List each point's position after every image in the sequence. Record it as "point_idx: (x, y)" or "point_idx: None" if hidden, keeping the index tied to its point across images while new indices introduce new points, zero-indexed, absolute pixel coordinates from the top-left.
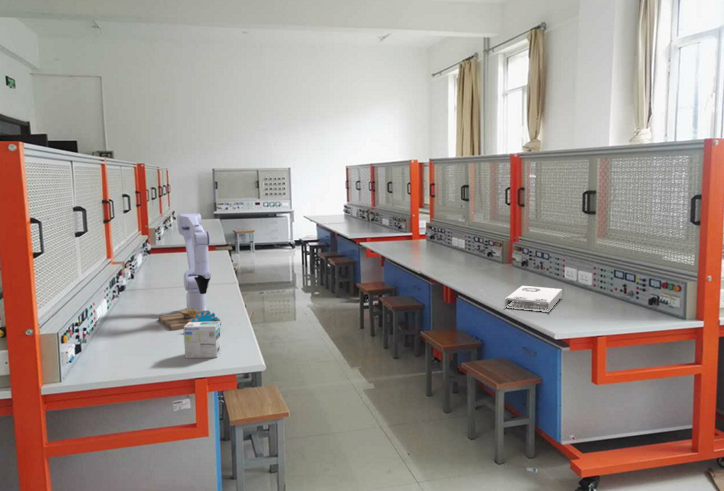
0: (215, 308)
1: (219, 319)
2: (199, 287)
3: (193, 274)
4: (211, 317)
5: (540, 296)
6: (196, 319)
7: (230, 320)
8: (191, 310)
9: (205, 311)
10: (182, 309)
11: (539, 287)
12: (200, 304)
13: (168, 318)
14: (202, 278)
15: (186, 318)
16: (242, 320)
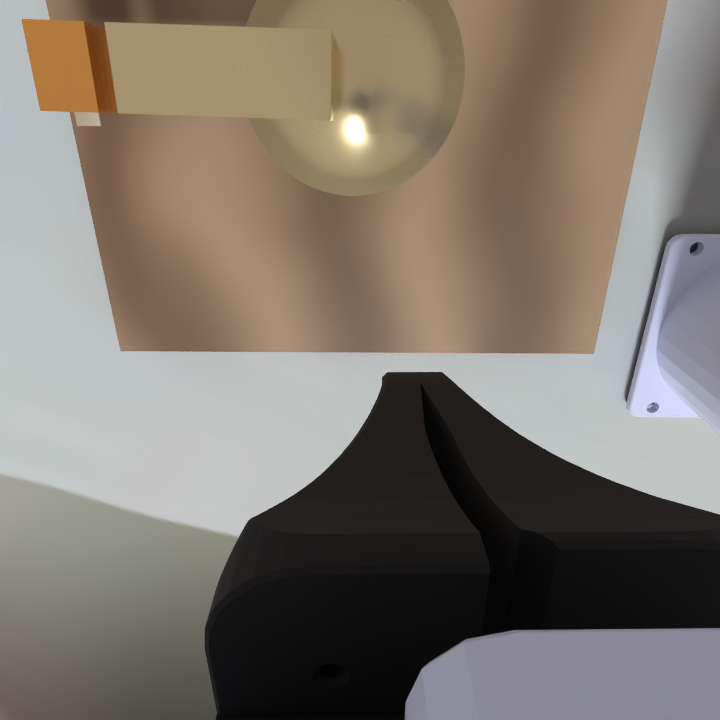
0: (674, 481)
1: (121, 348)
2: (409, 419)
3: (471, 641)
4: (226, 310)
5: None
6: (221, 141)
7: (175, 433)
8: (114, 50)
9: (516, 348)
10: (436, 2)
11: None
12: (697, 370)
13: None
14: (221, 685)
15: None
16: (129, 500)
